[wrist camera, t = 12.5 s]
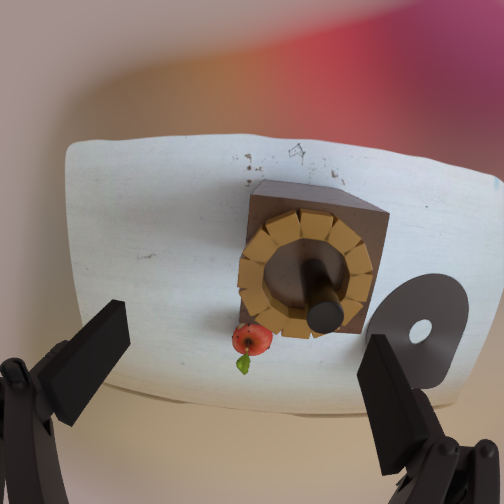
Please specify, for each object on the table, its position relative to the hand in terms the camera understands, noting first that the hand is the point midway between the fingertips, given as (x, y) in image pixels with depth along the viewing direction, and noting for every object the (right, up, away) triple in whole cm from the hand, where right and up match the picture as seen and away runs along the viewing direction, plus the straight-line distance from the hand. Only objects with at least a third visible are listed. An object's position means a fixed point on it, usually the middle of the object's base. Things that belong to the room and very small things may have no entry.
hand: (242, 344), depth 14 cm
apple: (+1, -9, +39) cm, 40 cm away
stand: (+8, +9, +32) cm, 34 cm away
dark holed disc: (+35, -9, +35) cm, 51 cm away
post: (+6, +3, +11) cm, 13 cm away
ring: (+5, +3, +11) cm, 13 cm away
